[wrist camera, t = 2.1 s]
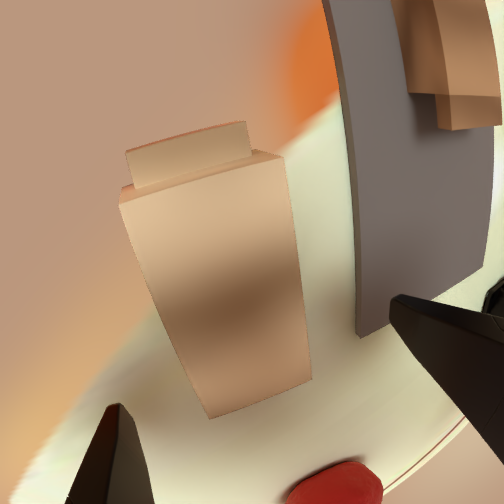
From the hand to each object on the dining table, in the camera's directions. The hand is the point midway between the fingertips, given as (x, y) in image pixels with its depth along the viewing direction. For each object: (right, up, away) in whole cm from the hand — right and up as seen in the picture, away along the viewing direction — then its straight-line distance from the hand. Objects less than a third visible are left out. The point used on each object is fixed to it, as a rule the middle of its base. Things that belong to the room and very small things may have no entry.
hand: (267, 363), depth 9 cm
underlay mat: (+9, +9, +5) cm, 14 cm away
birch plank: (-2, +2, +4) cm, 5 cm away
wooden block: (+8, +14, +2) cm, 17 cm away
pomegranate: (+6, -20, +17) cm, 27 cm away
